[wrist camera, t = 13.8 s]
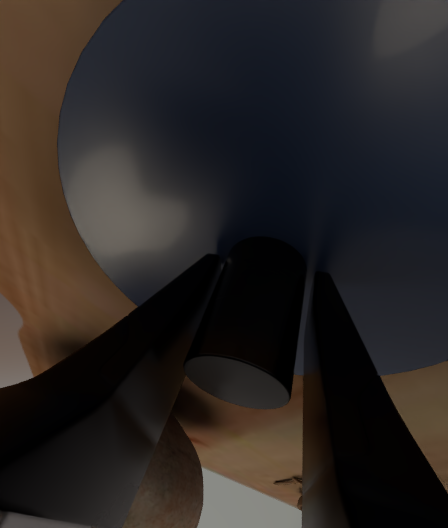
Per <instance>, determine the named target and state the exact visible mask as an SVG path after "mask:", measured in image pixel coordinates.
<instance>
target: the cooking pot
mask: <svg viewBox="0 0 448 528" xmlns="http://www.w3.org/2000/svg"><path fill="white" fill-rule="evenodd" d="M26 381H27V380H26ZM23 382H24V381H23ZM20 383H21V382H20ZM156 444H157V446H156V448H155V451H154V453H153V455H152V458H151V460H150V463H149V465H148V467H147V470H146V472H145V475H144V477H143V479H142V482H141V484H140V487H139V489H138V491H137V494H136V496H135V499H134V501H133V503H132V506H131V508H130V511H129V513H128V515H127V518H126V520H125V523H124V525H123V527H122V528H197V526H198V523H199V519H200V516H201V511H202V506H203V476H202V468H201V464H200V460H199V457H198V455H197V452H196V450H195V448H194V446H193V444H192V442H191V441H190V439H189V438H188V436H187V435H186V433H185V431H184V430H183V428H182V427H181V425H180V424H179V422H178V421H177V419H176V418H175V417H174V415H173V414H172V412H170V414H169V417H168V419H167V422H166V424H165V426H164V429H163V431H162V434H161V436H160V438H159V441H158V443H156ZM92 528H96V527H92Z"/></svg>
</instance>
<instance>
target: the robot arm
mask: <svg viewBox="0 0 448 528" xmlns="http://www.w3.org/2000/svg"><path fill="white" fill-rule="evenodd" d="M220 274H221V260H220V256H219V255H217V254H211V253H208V254H206V255H204V256H203V257H202V258H200V259H199V260H198V261H197V262H195V263H194V264H193V265H191V266H190V267H189V268H188V269H186V270H185V271H184V272H182V273H181V274H180V275H179V276H177V277H176V278H175V279H173V280H172V281H171V282H170V283H168V284H167V285H166V286H164V287H163V288H162V289H160V290H159V291H158V292H157V293H155V294H154V295H153V296H151V297H150V298H149V299H148V300H146V301H145V302H144V303H142V304H141V305H140V306H139V307H137V308H136V309H135V310H133V311H132V312H131V313H130V314H129V315H128V316H126V317H124V318H123V319H122V320H120V321H119V322H118V323H116V324H115V325H114V326H112V327H111V328H110V329H108V330H107V331H106V332H104V333H103V334H101V335H100V336H99V337H97V338H96V339H94V340H93V341H91V342H90V343H88V344H87V345H85V346H84V347H82V348H80V349H79V350H77V351H76V352H74V353H73V354H71V355H70V356H68V357H66V358H65V359H63V360H62V361H60V362H59V363H57V364H56V365H54V366H53V367H51V368H49V369H48V370H46V371H45V372H43V373H41V374H39V375H37V376H35V377H34V378H31V379H29V380H27V381H24V382H21V383H18V384H15V385H11V386H7V387H3V388H0V528H92V527H96V528H122V527H123V525H124V523H125V520H126V518H127V515H128V513H129V511H130V508H131V506H132V503H133V501H134V499H135V496H136V494H137V491H138V489H139V487H140V484H141V482H142V479H143V477H144V475H145V472H146V470H147V467H148V465H149V463H150V460H151V458H152V455H153V453H154V451H155V448H156V446H157V444H156V443H158V441H159V438H160V436H161V434H162V431H163V429H164V426H165V424H166V422H167V419H168V417H169V414H170V412H171V410H172V407H173V405H174V402H175V400H176V398H177V395H178V393H179V390H180V388H181V386H182V383H183V381H184V378H185V376H186V374H185V372H184V368H183V364H184V361H185V358H186V356H187V354H188V351H189V349H190V346H191V344H192V341H193V339H194V337H195V334H196V332H197V329H198V327H199V324H200V322H201V320H202V317H203V315H204V312H205V310H206V307H207V305H208V303H209V300H210V298H211V295H212V293H213V290H214V288H215V286H216V283H217V281H218V278H219V276H220ZM377 374H378V372H377V370H376V368H375V365H374V363H373V361H372V359H371V357H370V355H369V353H368V351H367V349H366V347H365V345H364V343H363V341H362V339H361V337H360V335H359V333H358V330H357V328H356V326H355V324H354V322H353V320H352V318H351V316H350V314H349V312H348V310H347V308H346V306H345V304H344V302H343V300H342V297H341V295H340V293H339V291H338V289H337V287H336V285H335V283H334V281H333V279H332V277H331V275H330V274H329V273H328V272H321V271H316V272H315V274H314V278H313V282H312V287H311V291H310V298H309V305H308V311H307V318H306V325H305V333H304V363H303V467H302V493H303V495H302V528H448V493H447V491H446V490H445V488H444V487H443V485H442V483H441V482H440V480H439V478H438V477H437V475H436V474H435V472H434V470H433V469H432V467H431V466H430V464H429V462H428V461H427V459H426V457H425V456H424V454H423V453H422V451H421V449H420V448H419V446H418V444H417V443H416V441H415V440H414V438H413V436H412V435H411V433H410V431H409V430H408V428H407V426H406V425H405V423H404V421H403V419H402V418H401V416H400V414H399V413H398V411H397V409H396V407H395V405H394V403H393V401H392V400H391V398H390V396H389V394H388V392H387V390H386V388H385V386H384V384H383V382H382V380H381V378H380V376H379V375H377Z"/></svg>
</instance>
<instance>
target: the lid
mask: <svg viewBox="0 0 448 528" xmlns="http://www.w3.org/2000/svg"><path fill="white" fill-rule="evenodd" d="M57 148H58V165H59V173H60V178H61V183H62V188H63V193H64V196H65V199H66V202H67V205H68V208H69V212H70V215H71V217H72V219H73V221H74V224H75V226H76V228H77V230H78V232H79V234H80V236H81V238H82V240H83V241H84V243H85V245H86V247H87V248H88V250H89V252H90V253H91V255H92V256H93V258H94V259H95V260H96V262H97V263H98V265H99V266H100V267H101V269H102V270H103V271H104V272H105V274H106V275H107V276H108V277H109V278H110V279H111V281H112V282H113V283H114V284H115V285H116V286H117V287H118V288H119V289H120V290H121V291H122V292H123V293H124V294H125V295H126V296H127V297H128V298H129V299H130V300H131V301H132V302H133V303H135V304H136V305H137V306H138V307H139V306H140V305H141V304H142V303H144V302H145V301H146V300H148V299H149V298H150V297H151V296H153V295H154V294H155V293H157V292H158V291H159V290H160V289H162V288H163V287H164V286H166V285H167V284H168V283H170V282H171V281H172V280H173V279H175V278H176V277H177V276H179V275H180V274H181V273H182V272H184V271H185V270H186V269H188V268H189V267H190V266H191V265H193V264H194V263H195V262H197V261H198V260H199V259H200V258H202V257H203V256H204V255H206V254H208V253H211V254H217V255H219V256H220V260H221V274H220V276H219V278H218V281H217V283H216V286H215V288H214V290H213V293H212V295H211V298H210V300H209V303H208V305H207V307H206V310H205V312H204V315H203V317H202V320H201V322H200V324H199V327H198V329H197V332H196V334H195V337H194V339H193V341H192V344H191V346H190V349H189V351H188V354H187V356H186V358H185V361H184V364H183V368H184V372H185V374H186V375H187V377H188V378H189V379H190V380H191V381H192V382H193V383H194V384H195V385H197V386H198V387H199V388H201V389H202V390H204V391H205V392H207V393H209V394H211V395H213V396H215V397H217V398H219V399H222V400H224V401H227V402H229V403H233V404H236V405H240V406H244V407H249V408H255V409H276V408H280V407H282V406H284V405H286V404H287V403H288V402H289V400H290V398H291V392H292V384H293V377H294V374H295V375H303V363H304V333H305V325H306V318H307V311H308V305H309V298H310V291H311V287H312V282H313V278H314V274H315V272H316V271H321V272H328V273H329V274H330V275H331V277H332V279H333V281H334V283H335V285H336V287H337V289H338V291H339V293H340V295H341V297H342V300H343V302H344V304H345V306H346V308H347V310H348V312H349V314H350V316H351V318H352V320H353V322H354V324H355V326H356V328H357V330H358V333H359V335H360V337H361V339H362V341H363V343H364V345H365V347H366V349H367V351H368V353H369V355H370V357H371V359H372V361H373V363H374V365H375V368H376V370H377V372H378V374H377V375H379V376H381V375H389V374H395V373H401V372H407V371H412V370H416V369H420V368H424V367H428V366H432V365H435V364H438V363H441V362H444V361H447V360H448V0H123V1H122V2H121V3H120V4H119V5H118V6H117V7H116V8H115V9H114V10H113V11H112V12H111V13H110V14H109V15H108V16H107V17H106V18H105V19H104V20H103V21H102V23H101V24H100V26H99V27H98V29H97V30H96V32H95V33H94V35H93V36H92V37H91V39H90V40H89V42H88V43H87V45H86V46H85V48H84V49H83V51H82V53H81V55H80V57H79V59H78V61H77V64H76V66H75V68H74V70H73V73H72V75H71V77H70V79H69V82H68V84H67V88H66V92H65V95H64V99H63V103H62V107H61V111H60V116H59V128H58V139H57Z"/></svg>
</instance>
